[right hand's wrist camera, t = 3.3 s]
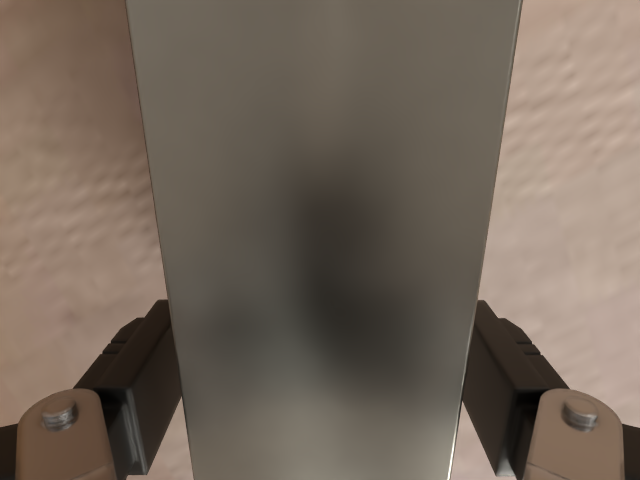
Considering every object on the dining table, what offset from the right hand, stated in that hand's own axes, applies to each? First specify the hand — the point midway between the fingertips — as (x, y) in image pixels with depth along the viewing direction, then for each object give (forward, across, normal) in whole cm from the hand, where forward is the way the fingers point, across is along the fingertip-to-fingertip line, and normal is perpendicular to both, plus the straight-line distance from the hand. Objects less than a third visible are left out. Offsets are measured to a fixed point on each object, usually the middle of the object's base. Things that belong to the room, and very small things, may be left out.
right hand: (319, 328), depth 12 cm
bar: (+5, 0, -8) cm, 10 cm away
